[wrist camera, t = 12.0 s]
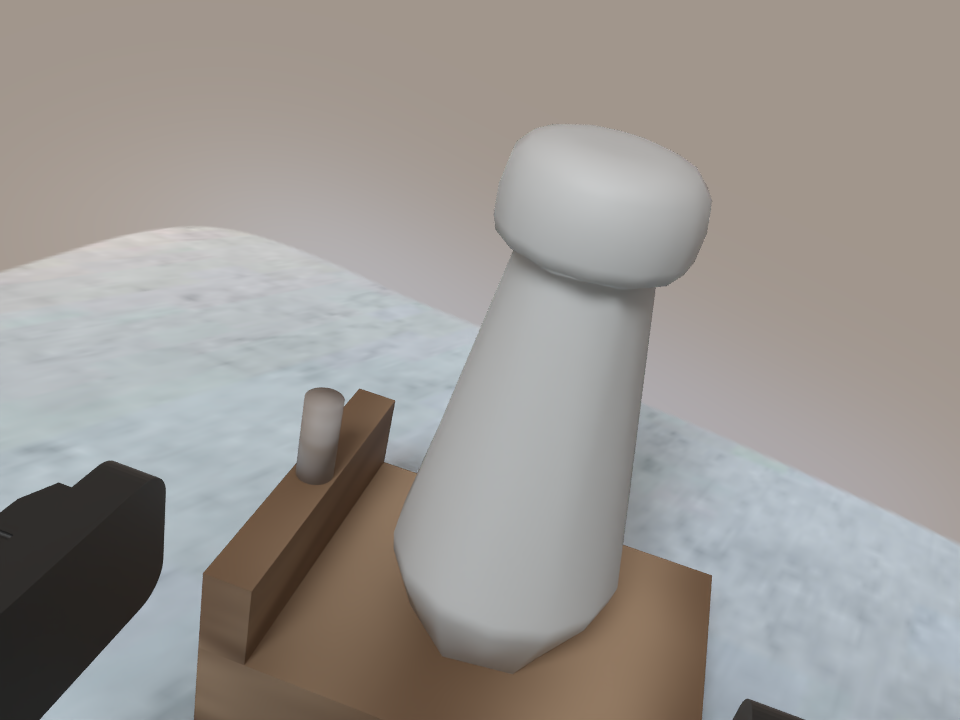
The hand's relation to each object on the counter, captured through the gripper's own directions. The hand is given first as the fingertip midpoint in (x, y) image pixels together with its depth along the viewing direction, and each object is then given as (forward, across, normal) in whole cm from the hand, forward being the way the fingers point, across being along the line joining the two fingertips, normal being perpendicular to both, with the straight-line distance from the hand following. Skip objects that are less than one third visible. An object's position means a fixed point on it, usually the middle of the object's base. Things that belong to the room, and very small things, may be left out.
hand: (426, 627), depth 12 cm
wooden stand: (+10, 0, +12) cm, 15 cm away
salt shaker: (+9, 0, +9) cm, 13 cm away
